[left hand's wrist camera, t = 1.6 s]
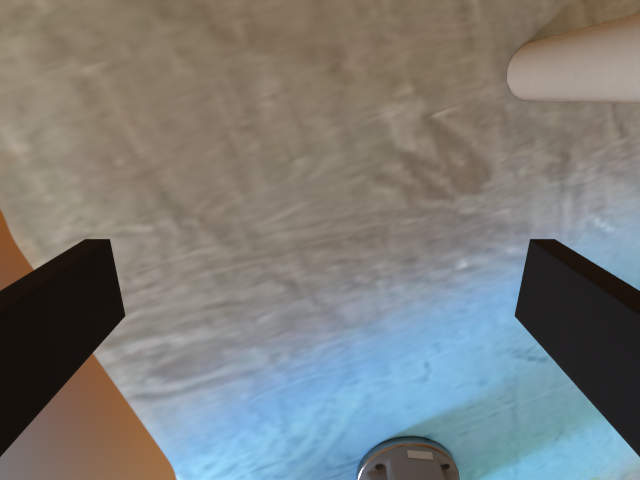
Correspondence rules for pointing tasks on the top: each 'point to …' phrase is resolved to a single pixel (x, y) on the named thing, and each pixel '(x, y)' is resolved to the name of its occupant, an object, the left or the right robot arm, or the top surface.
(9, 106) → the top surface
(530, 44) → the bottle
